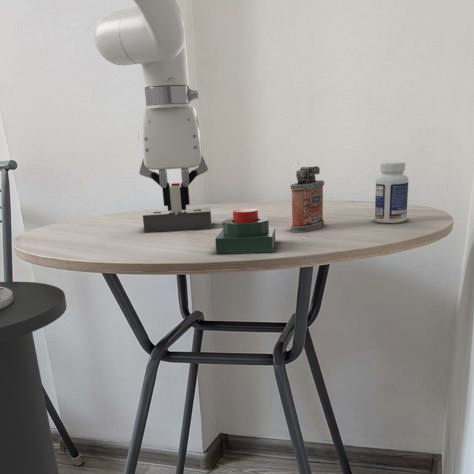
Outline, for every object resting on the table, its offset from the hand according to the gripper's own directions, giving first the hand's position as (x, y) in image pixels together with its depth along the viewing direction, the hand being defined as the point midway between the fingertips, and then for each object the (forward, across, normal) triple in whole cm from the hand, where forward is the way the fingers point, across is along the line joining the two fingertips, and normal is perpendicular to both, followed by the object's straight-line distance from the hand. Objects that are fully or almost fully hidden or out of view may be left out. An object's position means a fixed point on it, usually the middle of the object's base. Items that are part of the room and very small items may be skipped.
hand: (177, 208), depth 106 cm
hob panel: (+3, 0, 0) cm, 3 cm away
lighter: (+4, -22, +9) cm, 24 cm away
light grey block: (0, 0, 0) cm, 0 cm away
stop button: (0, -11, +23) cm, 25 cm away
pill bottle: (+4, -37, +6) cm, 38 cm away
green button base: (+3, -11, +23) cm, 26 cm away
